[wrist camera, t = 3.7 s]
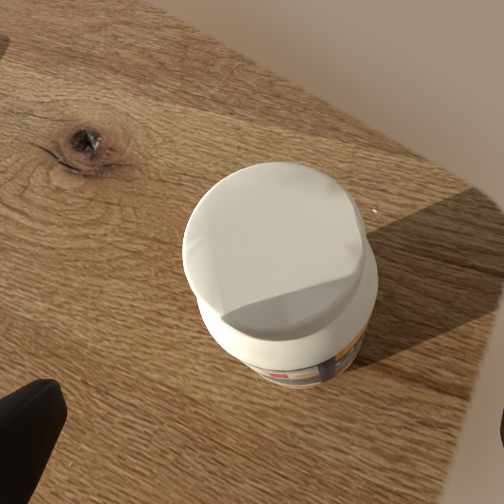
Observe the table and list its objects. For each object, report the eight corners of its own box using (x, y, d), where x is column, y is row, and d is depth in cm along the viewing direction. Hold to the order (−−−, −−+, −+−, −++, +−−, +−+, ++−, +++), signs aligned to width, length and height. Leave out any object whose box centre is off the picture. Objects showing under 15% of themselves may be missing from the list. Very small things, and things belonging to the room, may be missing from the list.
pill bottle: (368, 390, 18) (406, 357, 9) (236, 388, 19) (149, 358, 10) (358, 264, 20) (380, 134, 11) (241, 269, 21) (171, 153, 12)
